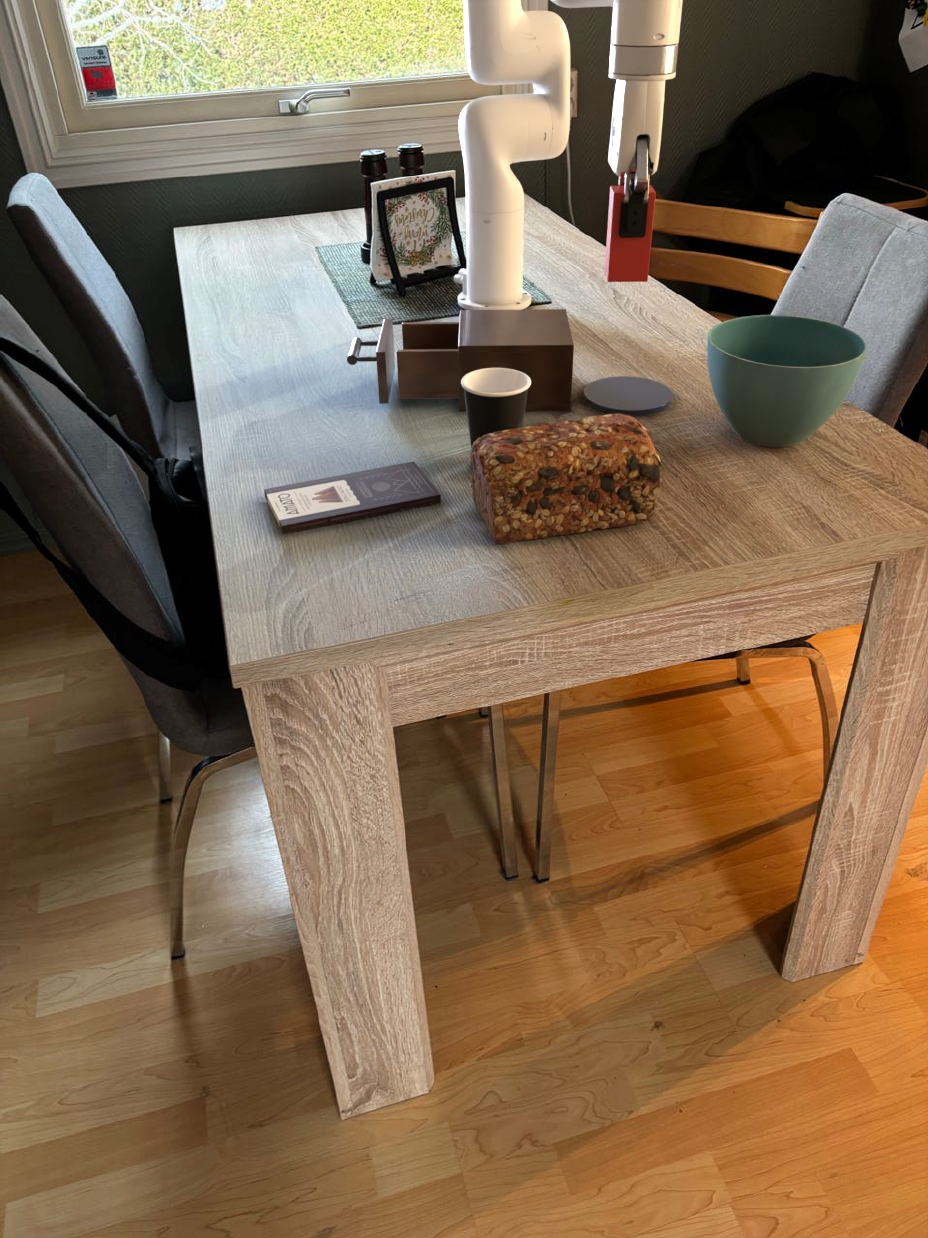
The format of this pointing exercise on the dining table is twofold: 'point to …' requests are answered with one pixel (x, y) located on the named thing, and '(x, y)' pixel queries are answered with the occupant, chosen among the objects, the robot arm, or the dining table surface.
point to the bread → (565, 477)
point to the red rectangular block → (627, 243)
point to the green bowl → (781, 374)
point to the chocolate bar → (350, 496)
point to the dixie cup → (495, 400)
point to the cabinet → (521, 351)
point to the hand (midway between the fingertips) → (629, 230)
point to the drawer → (415, 360)
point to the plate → (628, 395)
